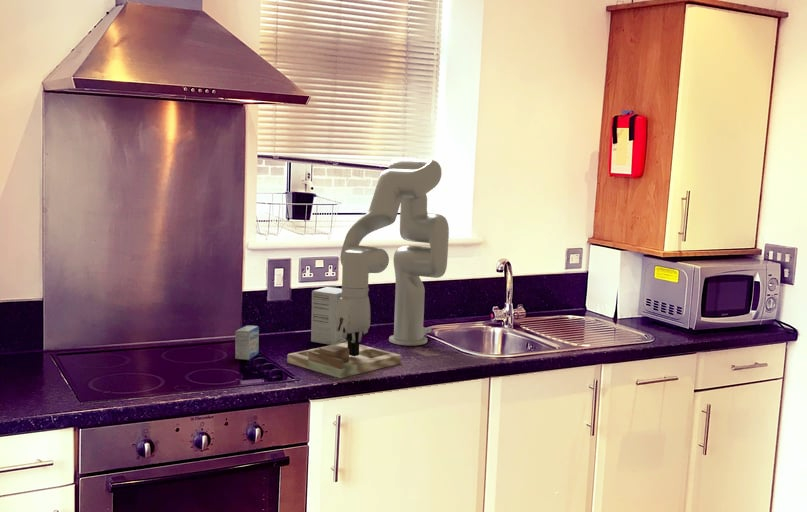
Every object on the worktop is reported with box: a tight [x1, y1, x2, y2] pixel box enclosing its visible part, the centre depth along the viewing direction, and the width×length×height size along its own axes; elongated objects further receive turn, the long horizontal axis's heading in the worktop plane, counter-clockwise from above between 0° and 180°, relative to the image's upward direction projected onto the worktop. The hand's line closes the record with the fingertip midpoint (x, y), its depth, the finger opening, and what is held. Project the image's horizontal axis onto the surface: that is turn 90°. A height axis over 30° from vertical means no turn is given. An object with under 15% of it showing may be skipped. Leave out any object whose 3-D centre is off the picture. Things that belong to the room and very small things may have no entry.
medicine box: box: [234, 325, 260, 361], centre depth 262 cm, size 8×4×9 cm, turn 168°
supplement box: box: [310, 286, 347, 346], centre depth 285 cm, size 10×9×17 cm
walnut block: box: [318, 345, 349, 364], centre depth 250 cm, size 6×6×4 cm
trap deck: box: [286, 341, 402, 379], centre depth 259 cm, size 25×22×5 cm
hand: (353, 354), depth 256 cm, fingers closed
